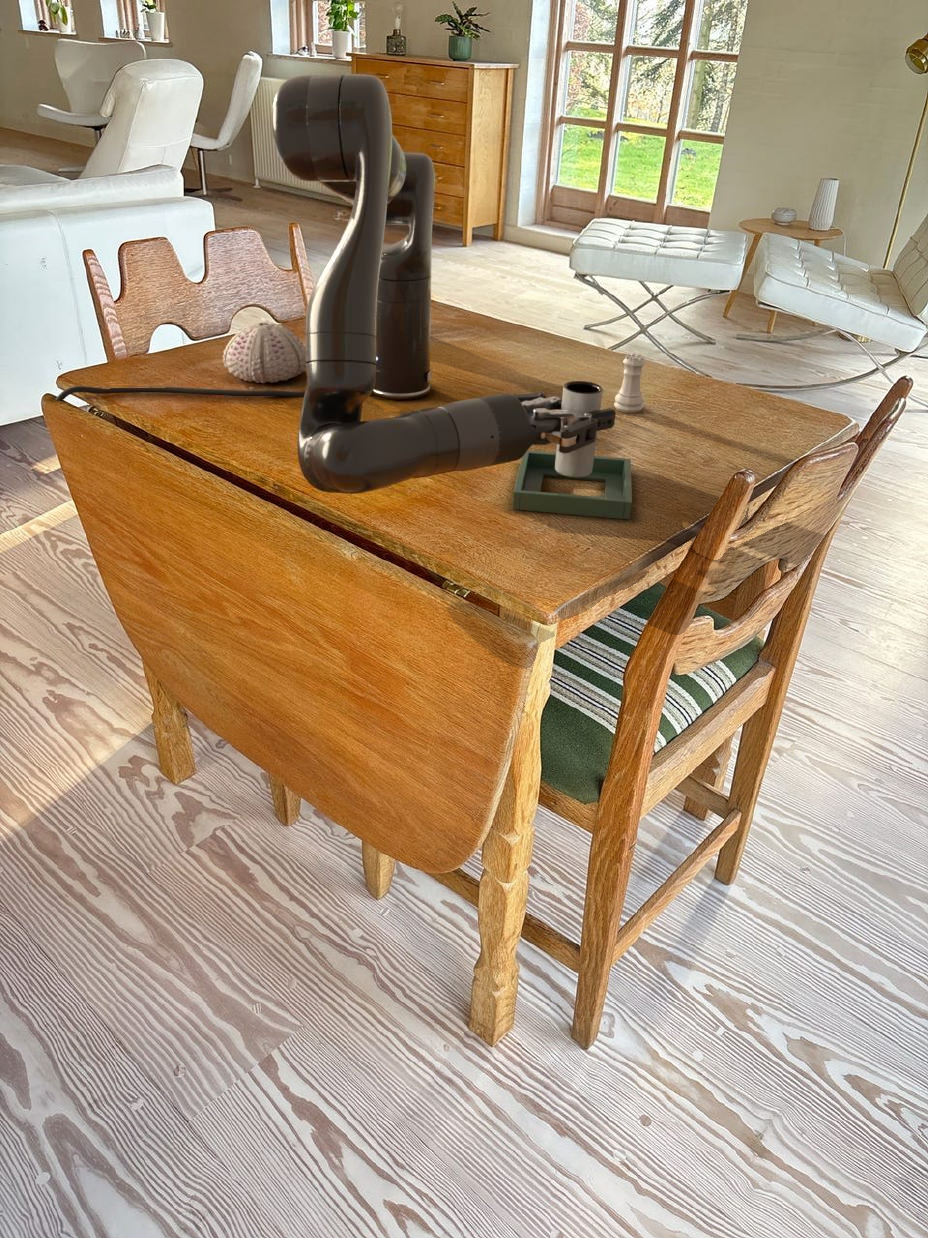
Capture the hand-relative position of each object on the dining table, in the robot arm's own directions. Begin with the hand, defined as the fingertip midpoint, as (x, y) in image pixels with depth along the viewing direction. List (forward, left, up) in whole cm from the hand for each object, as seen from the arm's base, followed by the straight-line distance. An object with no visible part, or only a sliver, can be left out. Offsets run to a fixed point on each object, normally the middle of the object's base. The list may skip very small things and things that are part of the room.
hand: (598, 410), depth 113 cm
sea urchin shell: (-52, +34, -10) cm, 63 cm away
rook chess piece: (+5, +31, -10) cm, 33 cm away
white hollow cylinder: (-2, -2, -7) cm, 8 cm away
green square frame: (-2, -2, -10) cm, 10 cm away
